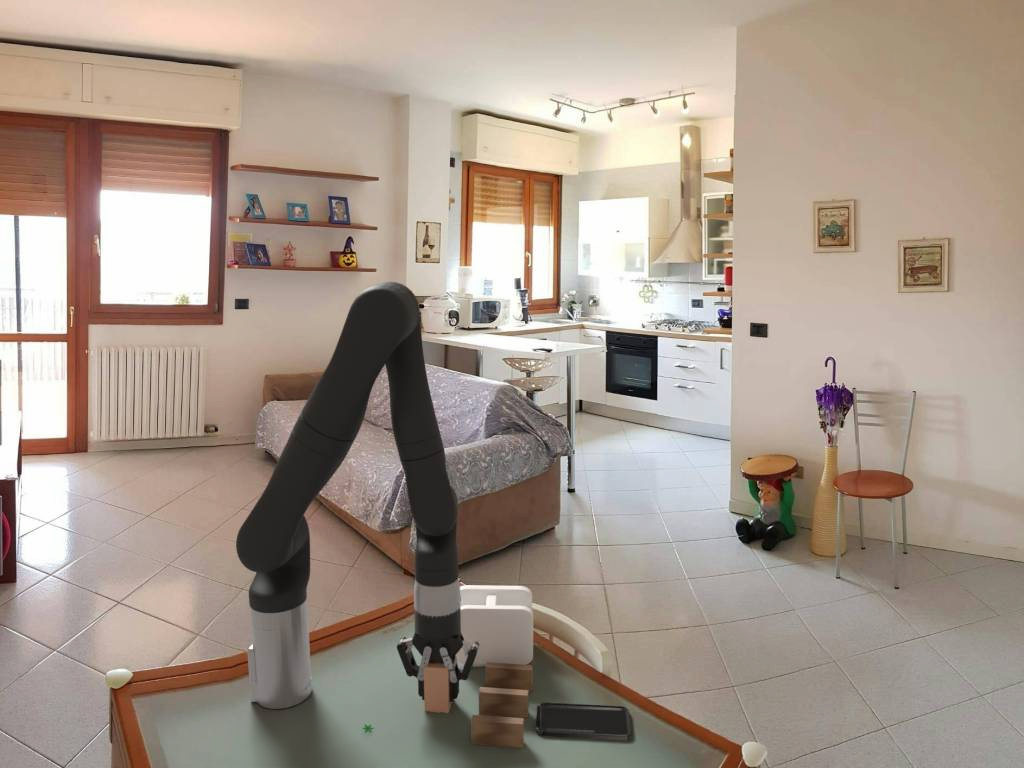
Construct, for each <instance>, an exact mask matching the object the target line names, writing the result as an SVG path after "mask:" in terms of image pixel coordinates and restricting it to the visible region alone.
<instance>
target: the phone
mask: <svg viewBox="0 0 1024 768" xmlns="http://www.w3.org/2000/svg"><path fill="white" fill-rule="evenodd" d="M630 717H631V716H630V710H629V709H628V708H627V707H626V706H621V705H620V706H619V705H604V704H603V705H600V704H586V703H585V704H583V703H582V704H581V703H579V704H578V703H561V702H540V703H538V704H537V706H536V717H535V718H536V719H535V733H536V735H537V736H540V737H550V738H551V737H552V738H553V737H554V738H570V739H571V738H573V739H574V738H575V739H593V740H610V741H629V740H630V739H631V738H632V728H631V720H630ZM628 739H629V740H628Z"/></svg>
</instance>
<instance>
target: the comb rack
mask: <svg viewBox="0 0 1024 768" xmlns="http://www.w3.org/2000/svg"><path fill="white" fill-rule="evenodd" d="M533 676H534V675H533V665H532V664H526V665H521V664H506V663H490V662H487V664H486V666H485V686H479V690H478V714H472V716H471V719H470V727H471V728H470V732H471V733H470V735H471V737H470V739H471V740H470V743H471V745H484V746H496V747H508V748H509V747H511V748H523V747H524V741H525V736H524V735H525V718H526V719H528V716H529V692H532V691H533Z"/></svg>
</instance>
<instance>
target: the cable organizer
mask: <svg viewBox="0 0 1024 768" xmlns="http://www.w3.org/2000/svg"><path fill="white" fill-rule="evenodd" d="M460 595H461V602H460V605H461V634H462V636H463V638H464V640H465V641H468V642H470V643H473V642H475V641H476V642H478V643H479V648H478V651H477V655H476V657H475V660H474V663H473V665H472V668H476V667H486V664H487V662H490V663H506V664H521V665H529V664H530V663H531V662H532V661H533V659H534V612H533V592H532V590H531V589H530V588H528V587H527V586H524V585H478V584H477V585H474V584H473V585H472V584H471V585H469V584H467V585H461V586H460ZM456 657H457V663H459V664H462V665H465V662H466V659H467V657H466V656H465V655H464V649H463V648H461V649H460V650H459V652H458V653H457V654H456Z"/></svg>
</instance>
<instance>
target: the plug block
mask: <svg viewBox="0 0 1024 768" xmlns="http://www.w3.org/2000/svg"><path fill="white" fill-rule="evenodd" d="M449 682H450V678H449V671H448V668H445V665H444V664H442V663H439V662H435V663H428V666H424V700H423V702H424V712H426V711H431V712H430V713H440V712H446V713H445V714H450V713H449V712H450V710H451V706H452V703H453V702H449ZM433 711H434V712H433Z"/></svg>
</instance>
